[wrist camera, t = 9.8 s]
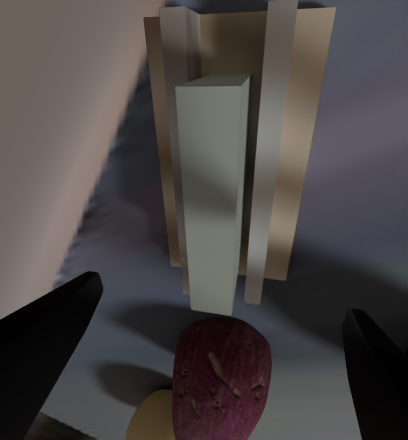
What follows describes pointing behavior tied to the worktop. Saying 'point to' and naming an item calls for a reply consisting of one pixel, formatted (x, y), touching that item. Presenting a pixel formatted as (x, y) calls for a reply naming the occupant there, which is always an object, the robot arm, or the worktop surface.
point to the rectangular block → (214, 183)
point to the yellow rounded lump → (153, 418)
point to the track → (259, 117)
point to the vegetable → (219, 380)
